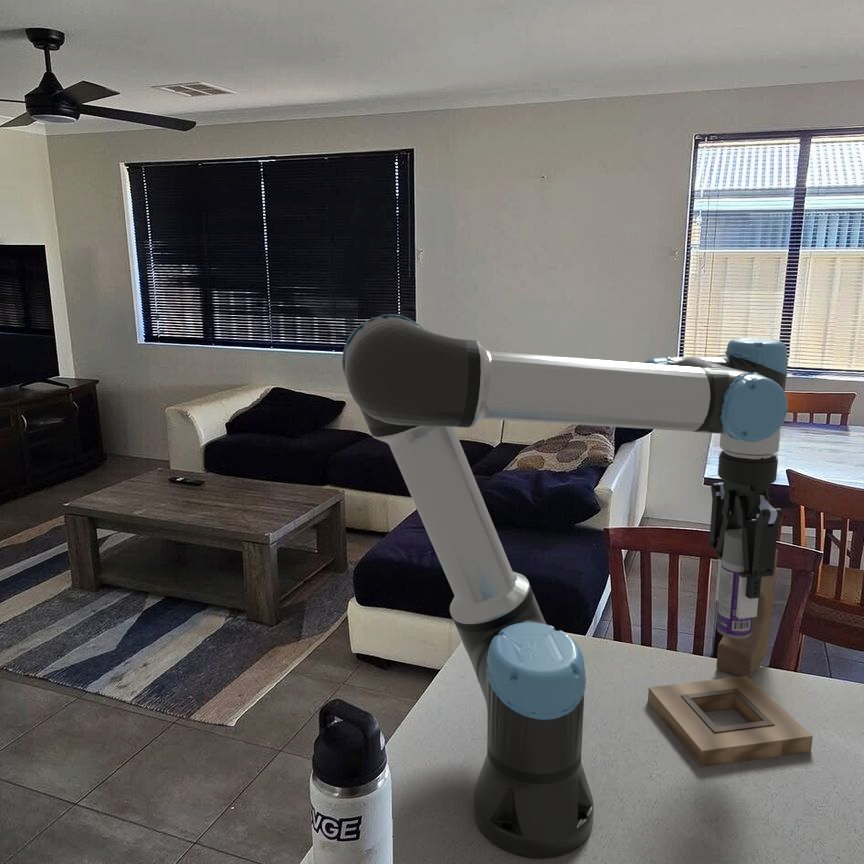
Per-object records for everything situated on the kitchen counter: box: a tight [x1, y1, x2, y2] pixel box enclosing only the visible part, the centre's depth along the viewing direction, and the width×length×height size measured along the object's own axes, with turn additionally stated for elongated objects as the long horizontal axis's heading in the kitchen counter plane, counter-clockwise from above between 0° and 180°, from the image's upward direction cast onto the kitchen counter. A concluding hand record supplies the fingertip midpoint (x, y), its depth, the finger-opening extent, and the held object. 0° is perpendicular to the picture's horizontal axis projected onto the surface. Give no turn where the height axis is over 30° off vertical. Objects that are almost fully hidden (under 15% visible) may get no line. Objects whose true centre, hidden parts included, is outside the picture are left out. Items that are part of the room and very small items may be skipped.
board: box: [647, 676, 814, 768], centre depth 113 cm, size 17×16×3 cm
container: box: [716, 529, 753, 639], centre depth 108 cm, size 5×5×15 cm
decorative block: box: [716, 548, 779, 679], centre depth 128 cm, size 11×6×20 cm, turn 140°
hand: (735, 607), depth 109 cm, fingers closed on container, 5 cm apart
